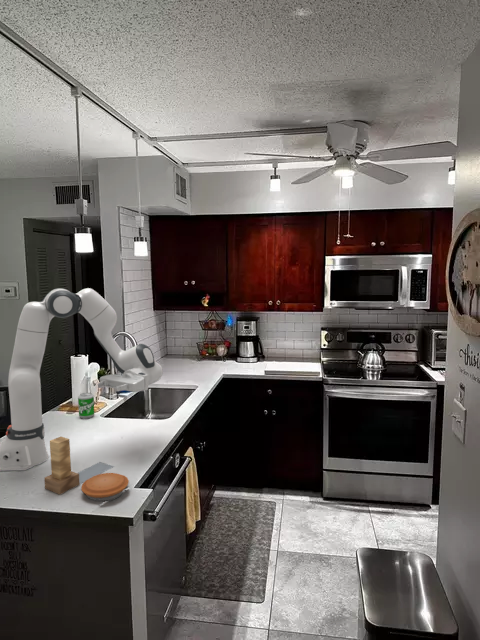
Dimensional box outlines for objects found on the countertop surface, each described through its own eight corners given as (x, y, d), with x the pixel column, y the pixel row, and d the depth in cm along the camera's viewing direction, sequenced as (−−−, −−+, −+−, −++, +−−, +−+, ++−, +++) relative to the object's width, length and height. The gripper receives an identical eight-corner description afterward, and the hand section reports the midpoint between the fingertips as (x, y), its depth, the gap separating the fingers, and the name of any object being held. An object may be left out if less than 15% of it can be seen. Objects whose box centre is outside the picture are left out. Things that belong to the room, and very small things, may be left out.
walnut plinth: (60, 494, 151) (59, 483, 150) (44, 488, 155) (44, 477, 154) (79, 484, 157) (78, 473, 157) (64, 479, 161) (63, 468, 161)
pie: (72, 503, 147) (71, 489, 146) (95, 481, 162) (94, 468, 161) (117, 507, 144) (116, 493, 144) (135, 484, 159) (135, 471, 159)
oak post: (60, 479, 153) (58, 443, 151) (51, 476, 155) (49, 440, 153) (71, 474, 156) (69, 438, 155) (62, 471, 159) (60, 436, 157)
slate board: (61, 496, 151) (61, 493, 151) (46, 490, 155) (46, 487, 155) (114, 468, 172) (114, 466, 171) (100, 463, 176) (100, 461, 176)
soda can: (76, 416, 230) (75, 394, 229) (90, 413, 235) (89, 391, 234) (82, 420, 224) (81, 397, 223) (96, 417, 229) (95, 394, 228)
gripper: (114, 369, 191) (88, 376, 180) (150, 375, 181) (125, 383, 169) (114, 383, 192) (89, 391, 180) (151, 390, 182) (126, 399, 170)
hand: (107, 387), depth 175 cm, fingers open, 8 cm apart
